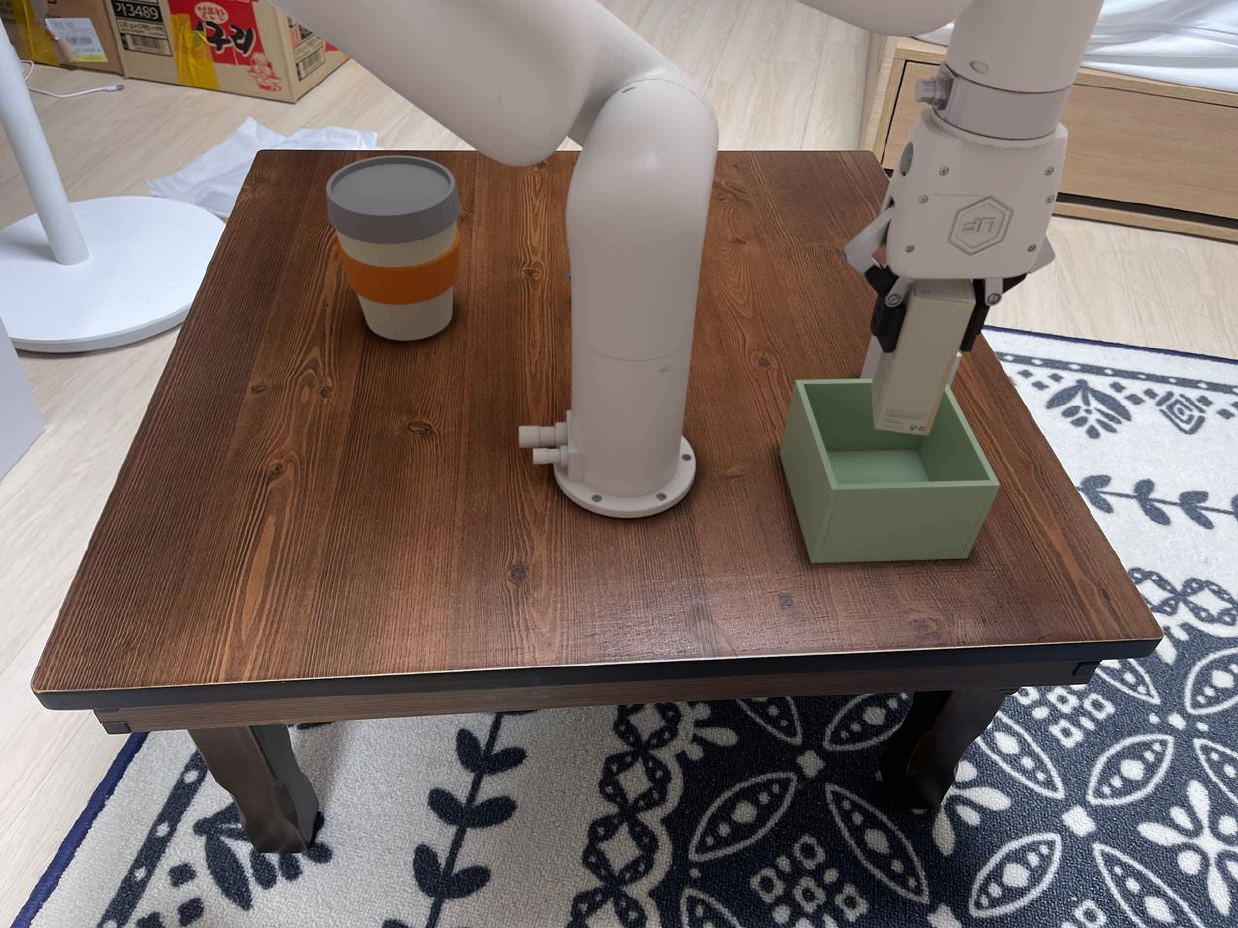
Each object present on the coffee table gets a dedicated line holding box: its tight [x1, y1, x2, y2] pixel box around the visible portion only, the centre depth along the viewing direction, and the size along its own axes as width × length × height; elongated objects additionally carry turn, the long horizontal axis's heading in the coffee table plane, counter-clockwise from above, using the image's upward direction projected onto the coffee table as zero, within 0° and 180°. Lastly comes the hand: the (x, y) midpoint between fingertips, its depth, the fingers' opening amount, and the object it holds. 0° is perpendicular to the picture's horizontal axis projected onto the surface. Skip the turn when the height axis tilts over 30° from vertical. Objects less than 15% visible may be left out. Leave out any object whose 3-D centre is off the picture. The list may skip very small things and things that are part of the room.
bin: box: [779, 378, 1001, 564], centre depth 78 cm, size 13×13×9 cm
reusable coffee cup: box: [325, 154, 461, 342], centre depth 94 cm, size 13×13×15 cm
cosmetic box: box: [872, 279, 976, 436], centre depth 70 cm, size 6×4×12 cm
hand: (921, 339), depth 69 cm, fingers closed on cosmetic box, 5 cm apart
